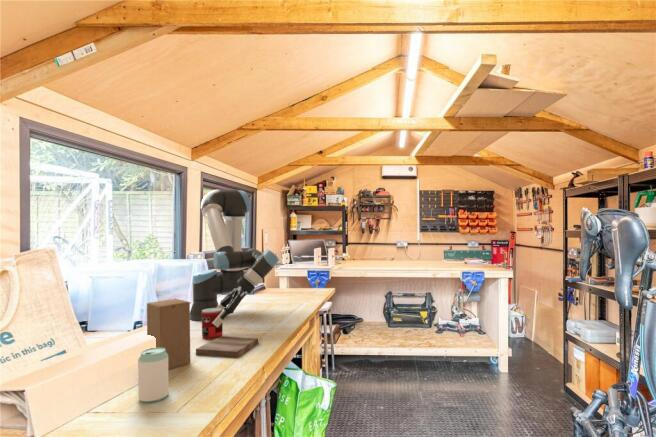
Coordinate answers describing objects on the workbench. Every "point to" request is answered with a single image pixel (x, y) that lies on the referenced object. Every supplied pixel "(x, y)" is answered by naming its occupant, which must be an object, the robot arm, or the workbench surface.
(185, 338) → the wooden block
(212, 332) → the canned food
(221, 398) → the workbench surface
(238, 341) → the walnut board
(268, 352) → the workbench surface
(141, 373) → the can
